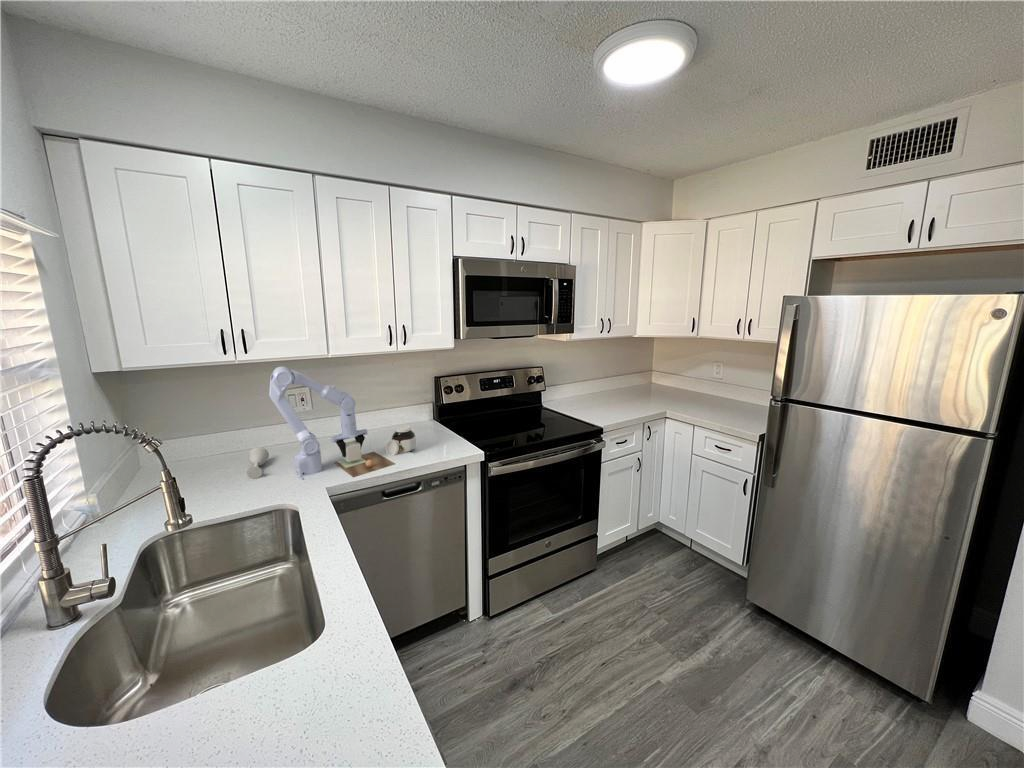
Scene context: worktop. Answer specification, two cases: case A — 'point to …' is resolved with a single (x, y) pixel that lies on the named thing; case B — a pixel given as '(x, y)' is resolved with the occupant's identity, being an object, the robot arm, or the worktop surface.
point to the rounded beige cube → (352, 451)
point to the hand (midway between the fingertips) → (351, 454)
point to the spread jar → (401, 440)
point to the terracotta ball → (369, 463)
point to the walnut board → (362, 469)
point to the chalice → (257, 461)
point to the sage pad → (351, 462)
